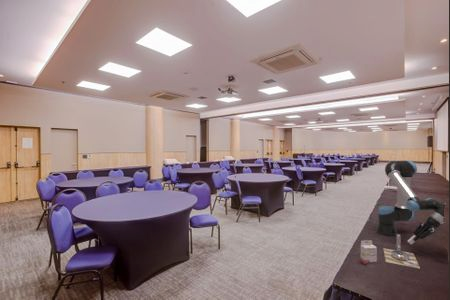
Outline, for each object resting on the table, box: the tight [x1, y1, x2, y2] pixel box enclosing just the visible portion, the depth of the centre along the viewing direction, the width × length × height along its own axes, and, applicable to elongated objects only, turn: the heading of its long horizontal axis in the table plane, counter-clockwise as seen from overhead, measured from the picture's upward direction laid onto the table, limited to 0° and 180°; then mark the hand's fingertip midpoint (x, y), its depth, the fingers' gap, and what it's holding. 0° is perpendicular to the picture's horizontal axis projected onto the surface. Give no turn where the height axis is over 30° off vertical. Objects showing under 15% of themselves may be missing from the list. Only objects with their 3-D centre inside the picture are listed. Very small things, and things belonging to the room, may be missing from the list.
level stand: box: [383, 247, 421, 269], centre depth 161 cm, size 22×18×2 cm
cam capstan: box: [391, 233, 409, 260], centre depth 161 cm, size 17×10×13 cm, turn 149°
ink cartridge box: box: [360, 239, 378, 265], centre depth 159 cm, size 9×5×15 cm, turn 92°
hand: (409, 242), depth 165 cm, fingers closed
